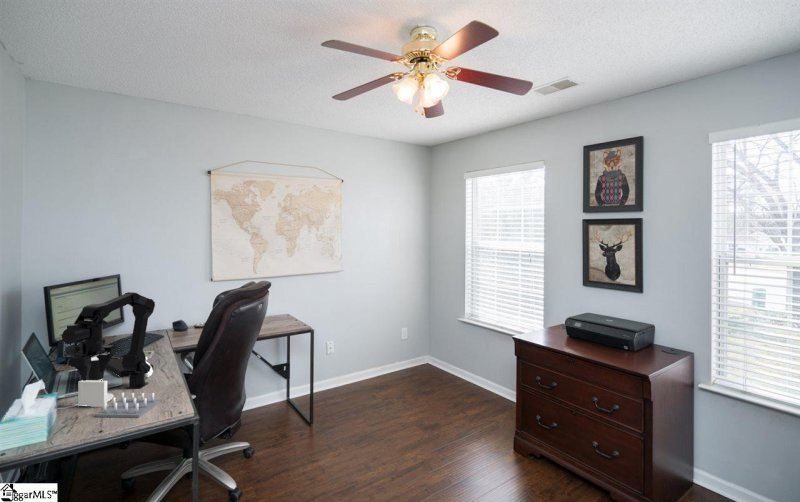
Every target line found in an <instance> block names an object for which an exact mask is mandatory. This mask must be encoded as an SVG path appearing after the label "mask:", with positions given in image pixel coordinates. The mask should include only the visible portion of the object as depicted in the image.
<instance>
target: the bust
mask: <svg viewBox="0 0 800 502" xmlns="http://www.w3.org/2000/svg"><path fill="white" fill-rule="evenodd" d="M147 360H148V359H147V357H146V363H147V364H148V365H149V366H151V365H150V364H151V363H150V362H148V361H147ZM149 363H150V364H149ZM153 373H154V368H153V369H152V367H151V368H150V371H149V372H148V373H146V374H145V378H149V377H151V376H152V374H153Z"/></svg>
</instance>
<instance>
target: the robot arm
mask: <svg viewBox="0 0 800 502" xmlns="http://www.w3.org/2000/svg"><path fill="white" fill-rule="evenodd" d="M127 305H129V306H130V307H132V308H131V310H132V314H133V316H134V324H133V329H132V334H131V336H132V337H131V343H130V347H129V351H128V352H127V353H126V354H123V355H122V358H123V361H122V363H121V364H122V367H123V368H124V371H125V373H130V375H129V380H128V381H129V383H128V385H126V387H125V388H126V389H142V388H143V387H145V386H147V385H148V384H149V381H146V377H145V374H146V373H148V372H149V371H150V368H151V366H149V365H148V364H147V363H146V362H147V361H146V356H145V354H144V352H145V351H144V345H145V340H146V334H147V333H146V332H147V328H148V323H149V322H148V321H149V318H150V317H151V315H152V314H153V313H154V311H155V308H156V307H155V306H156V302H155V301H154V299H152V298H149V297H146V296H143V295H141V294H139V293H138V292H131V291H130V292H129V291H127V292H125V293H124V294H121V295H119V296H117V297H114V298H112V299H109V300H107V301H104V302H102V303H101V302H100V303H93V304H89V305H85V306H84V307H82V310H81V311H80V313H79V314H78V316H77V318H76V319H75V321H74V323H73V324H69V325H66V329H64V330H63V332H62V334H61V338H62V339H61V340H62V341H63V342H64V343H65V344H67V345H70V346H66V347H65V355H66V356H69V358H68V359H67V367H69V366H70V367H72V368H75V369H76V370H77V372H78V373H79V375H80V378H81V380H83V381H86V380H88V374H89V371H90V367H91V363H90V362H91V358H93V357H97V358H98V359H99V370H100V373H103V372H104V373H105V370H106V366H107V364H108V363H109V361H110V360H112V358H113V357H114V355H115V353H117V347H116V345H114V344H112V345H111V344H103V343H104V342H106V338H103V333H104V332H103V329H104V328H103V325H107V324H108V321H106V320H104V319H106V318H107V317H108V316H109V315H110V314H111V313H112V312H113V311H116V310H118V309H120V308H122V307H125V306H127ZM79 342H80V344H79V345H77V346H75V345H71V344H74V343H79Z"/></svg>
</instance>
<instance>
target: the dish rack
mask: <svg viewBox="0 0 800 502" xmlns="http://www.w3.org/2000/svg"><path fill="white" fill-rule="evenodd" d="M130 394H131V395H130V397H131V399H130V398H128V399H127V397H125V392H121V393H120V399H119V400H116V396H115V397H112V400H111V401H112V404H110V405H109V406H106V402H105V403H103V407H102V410H100V411H99V412H97V413H95V418H132V419H134V418H135V419H137V418H138V419H139V418H141V417H142V416H143V415H145V414H147V413H148V412H149V411H151V410H152V409H153V408H154V407H156V406H157V405H160V403H161V401H162V400H161V399H155V392H151V393H150V396H151V398H150V399H147V397H145V392H141V393H140V395H141V396H140V399H137V397H135V392H131V393H130Z"/></svg>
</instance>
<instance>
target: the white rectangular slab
mask: <svg viewBox="0 0 800 502" xmlns="http://www.w3.org/2000/svg"><path fill="white" fill-rule="evenodd" d="M77 383H78V385H77V387H78V391H77V392H78V393H77V394H78V395H77V397H78V398H77V399H78V402H77V404H78V405H77V407H79V406H81V405H87V406H91V407H90V408H103V403H105V402H106V407H108V380H102V381H99V380H89V379H87V380H86V381H83V380H82V379H81V380H79V381H78V382H77ZM79 408H80V407H79Z"/></svg>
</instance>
